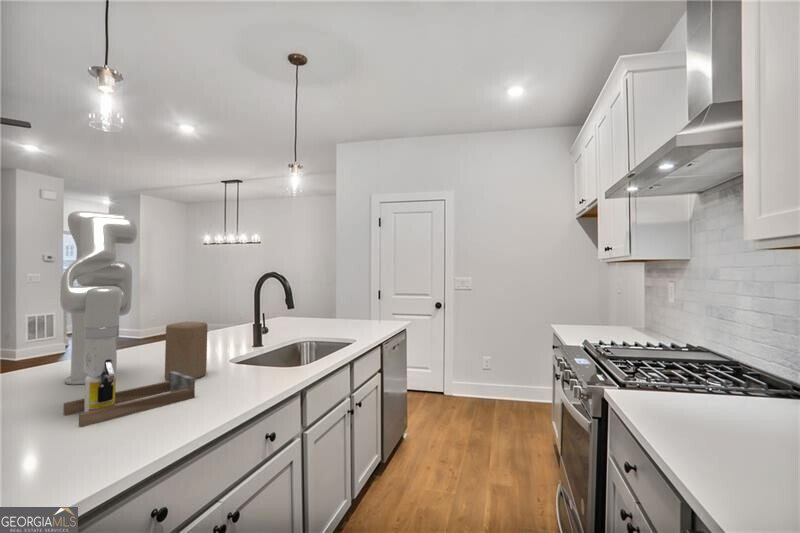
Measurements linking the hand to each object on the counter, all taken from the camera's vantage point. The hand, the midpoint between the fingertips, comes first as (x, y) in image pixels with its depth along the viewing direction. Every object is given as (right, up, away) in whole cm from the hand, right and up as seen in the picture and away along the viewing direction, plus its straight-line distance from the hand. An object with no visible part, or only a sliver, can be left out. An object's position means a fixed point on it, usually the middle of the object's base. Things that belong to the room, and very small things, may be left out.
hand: (100, 397), depth 104 cm
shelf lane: (+5, -4, +6) cm, 9 cm away
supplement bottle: (0, -4, 0) cm, 4 cm away
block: (+4, -5, +35) cm, 36 cm away
